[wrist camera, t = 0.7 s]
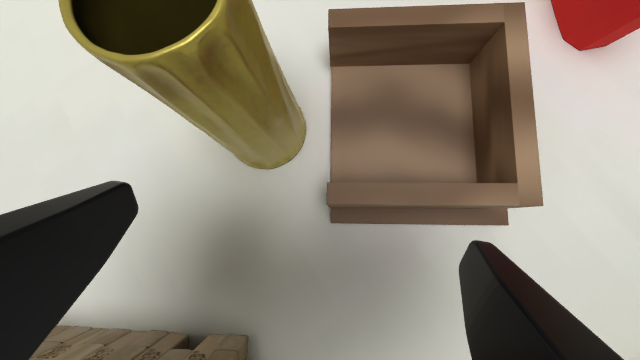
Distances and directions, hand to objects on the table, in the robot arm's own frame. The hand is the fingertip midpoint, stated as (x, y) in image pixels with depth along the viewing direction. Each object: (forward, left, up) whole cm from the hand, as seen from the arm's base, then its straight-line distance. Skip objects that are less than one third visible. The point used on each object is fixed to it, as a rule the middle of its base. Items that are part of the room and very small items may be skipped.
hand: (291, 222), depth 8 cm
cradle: (+7, -6, -14) cm, 16 cm away
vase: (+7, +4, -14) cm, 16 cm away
